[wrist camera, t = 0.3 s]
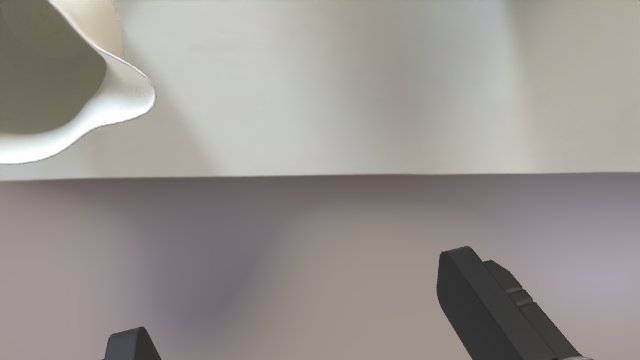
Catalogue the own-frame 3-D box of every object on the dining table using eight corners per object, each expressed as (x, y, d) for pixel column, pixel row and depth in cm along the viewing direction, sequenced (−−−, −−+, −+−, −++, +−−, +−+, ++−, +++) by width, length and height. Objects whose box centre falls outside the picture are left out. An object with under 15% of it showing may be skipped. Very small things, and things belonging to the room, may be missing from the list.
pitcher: (-146, -113, 25) (-417, -127, 14) (173, -44, 31) (160, -14, 20) (-99, 67, 31) (-269, 160, 19) (166, 98, 36) (153, 184, 25)
